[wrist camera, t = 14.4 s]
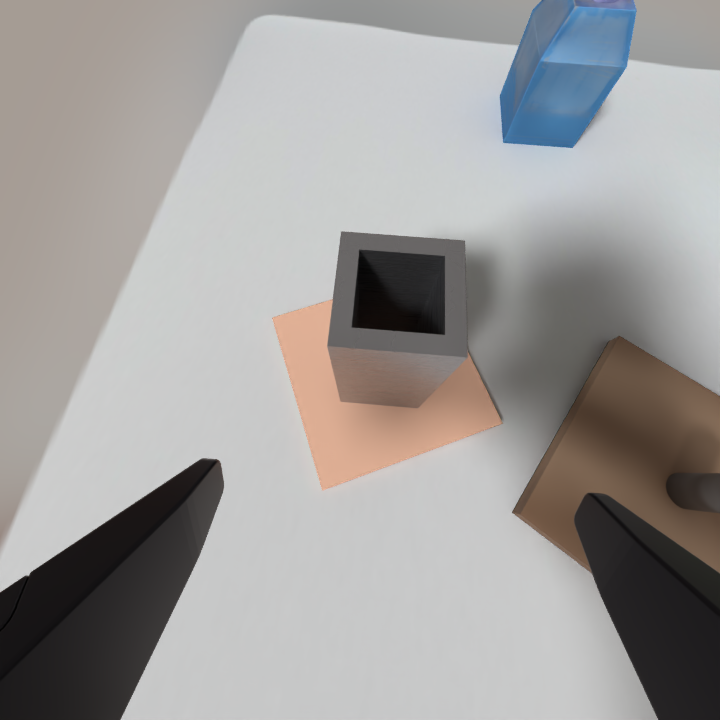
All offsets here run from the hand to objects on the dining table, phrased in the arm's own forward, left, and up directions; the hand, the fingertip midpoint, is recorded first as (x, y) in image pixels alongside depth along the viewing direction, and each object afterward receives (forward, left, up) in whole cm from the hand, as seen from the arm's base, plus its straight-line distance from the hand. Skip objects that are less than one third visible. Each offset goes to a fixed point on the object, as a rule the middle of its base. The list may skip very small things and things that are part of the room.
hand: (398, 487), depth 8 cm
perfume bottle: (+25, +24, -13) cm, 37 cm away
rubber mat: (+3, +6, -13) cm, 14 cm away
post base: (+17, -7, -13) cm, 22 cm away
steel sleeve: (+3, +6, -12) cm, 14 cm away
